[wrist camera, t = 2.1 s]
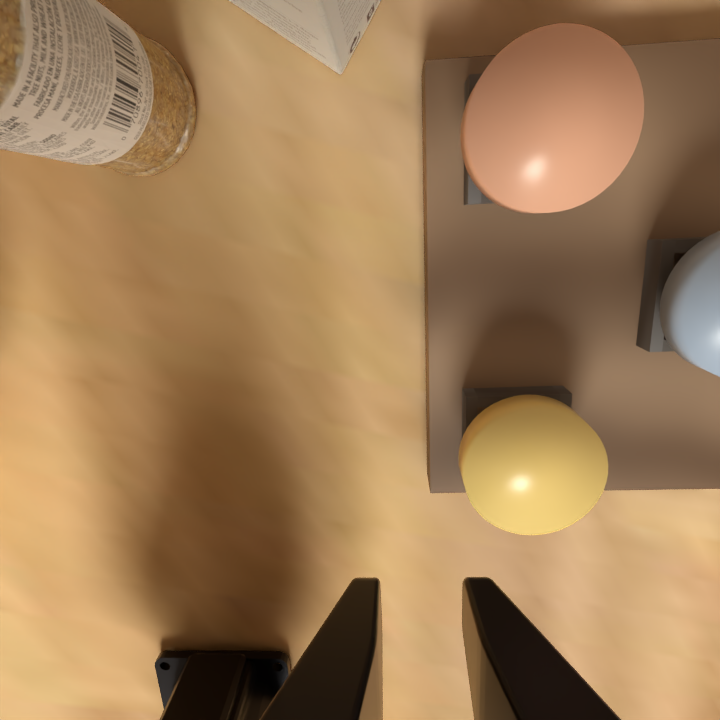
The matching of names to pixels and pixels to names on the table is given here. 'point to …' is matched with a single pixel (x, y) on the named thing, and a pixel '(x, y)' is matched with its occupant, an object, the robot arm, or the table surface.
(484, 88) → the terracotta button
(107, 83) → the sprinkles bottle
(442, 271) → the board
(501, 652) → the robot arm
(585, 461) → the ochre button
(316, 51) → the skincare box
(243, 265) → the table surface
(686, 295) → the slate-blue button
